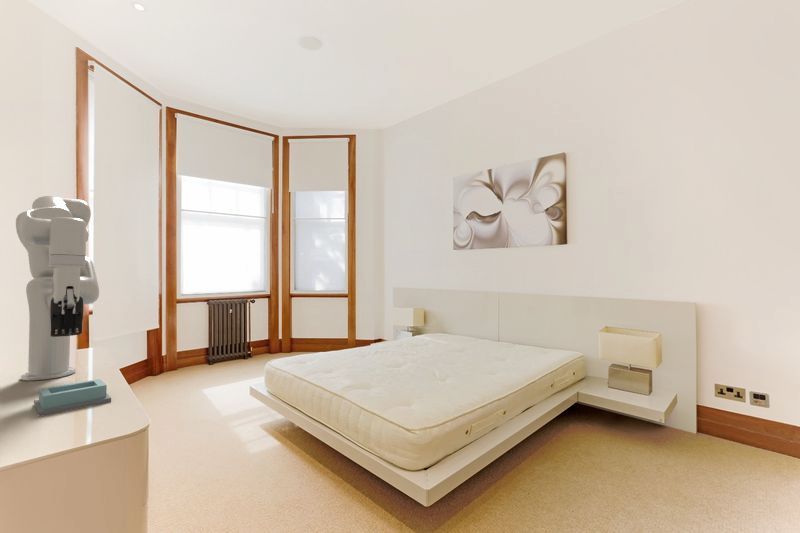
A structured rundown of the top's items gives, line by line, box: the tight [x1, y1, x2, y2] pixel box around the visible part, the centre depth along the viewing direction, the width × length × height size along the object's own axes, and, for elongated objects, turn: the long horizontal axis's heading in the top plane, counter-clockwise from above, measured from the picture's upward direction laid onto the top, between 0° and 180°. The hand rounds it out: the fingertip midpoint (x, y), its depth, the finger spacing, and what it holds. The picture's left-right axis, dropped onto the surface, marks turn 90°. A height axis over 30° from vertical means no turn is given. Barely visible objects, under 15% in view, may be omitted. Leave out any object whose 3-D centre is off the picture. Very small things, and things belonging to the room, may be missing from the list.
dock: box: [33, 378, 112, 418], centre depth 91 cm, size 12×13×4 cm
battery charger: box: [50, 296, 85, 337], centre depth 101 cm, size 7×4×11 cm, turn 132°
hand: (66, 327), depth 101 cm, fingers closed on battery charger, 4 cm apart
